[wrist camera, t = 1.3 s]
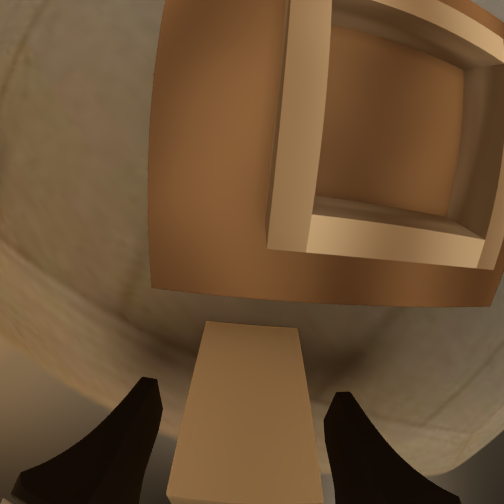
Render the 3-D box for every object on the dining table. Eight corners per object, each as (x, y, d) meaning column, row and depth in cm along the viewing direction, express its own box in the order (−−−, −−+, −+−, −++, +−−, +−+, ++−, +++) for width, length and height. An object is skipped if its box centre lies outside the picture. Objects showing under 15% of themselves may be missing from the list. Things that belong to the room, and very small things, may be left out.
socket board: (516, 44, 7) (561, 38, 3) (479, 296, 12) (516, 333, 9) (186, -50, 6) (164, -96, 3) (159, 276, 12) (128, 326, 9)
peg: (297, 328, 13) (323, 501, 5) (283, 387, 14) (293, 530, 7) (206, 320, 13) (166, 493, 5) (206, 381, 14) (182, 523, 7)
